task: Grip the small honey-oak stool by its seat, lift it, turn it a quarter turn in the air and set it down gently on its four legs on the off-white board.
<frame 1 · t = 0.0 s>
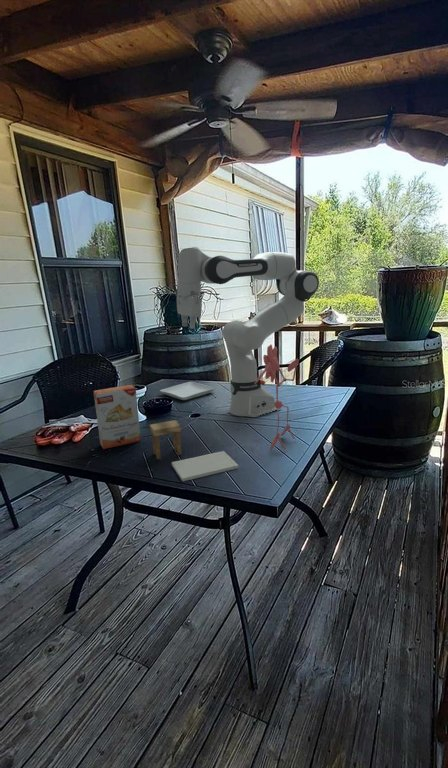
hand: (188, 327, 158), 39 cm above the table, tool pointing down, fingers open, 8 cm apart
oak stool: (167, 454, 137), on the table
salad plate: (187, 395, 208), on the table
white board: (204, 466, 127), on the table
pink stick figure: (272, 443, 142), on the table
cracker box: (121, 443, 149), on the table
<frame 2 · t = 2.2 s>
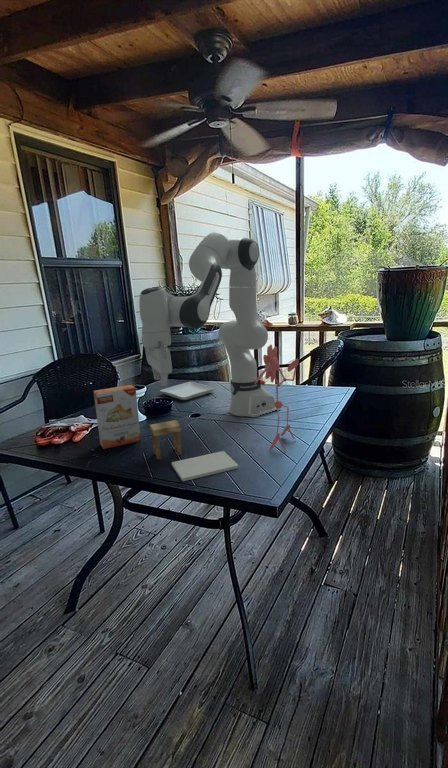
hand: (160, 382, 131), 25 cm above the table, tool pointing down, fingers open, 8 cm apart
nothing on the table moved.
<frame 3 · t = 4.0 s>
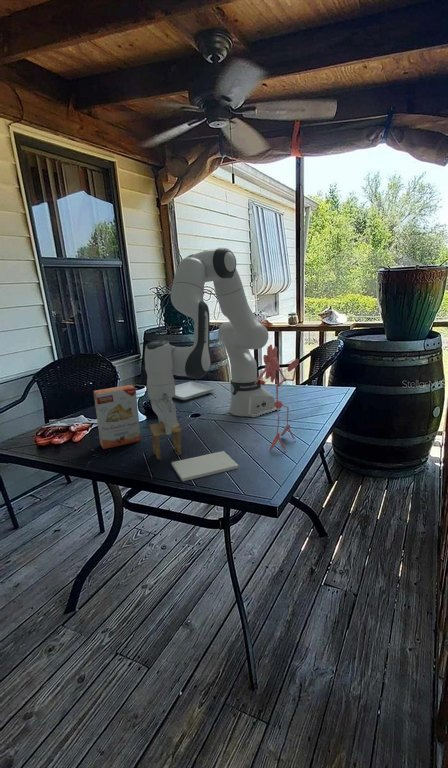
hand: (165, 430, 135), 9 cm above the table, tool pointing down, fingers closed on oak stool, 6 cm apart
oak stool: (167, 454, 137), on the table, touching gripper
everything else where it was.
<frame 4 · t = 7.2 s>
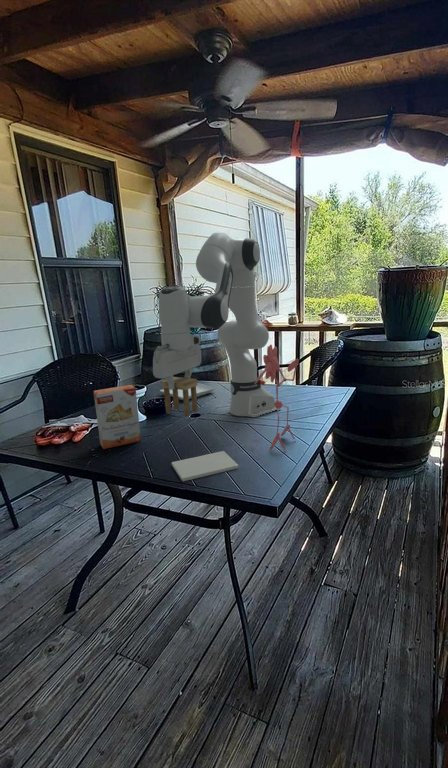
hand: (179, 385, 125), 25 cm above the table, tool pointing down, fingers closed on oak stool, 6 cm apart
oak stool: (181, 412, 127), point 17 cm above the table, touching gripper
everything else where it was.
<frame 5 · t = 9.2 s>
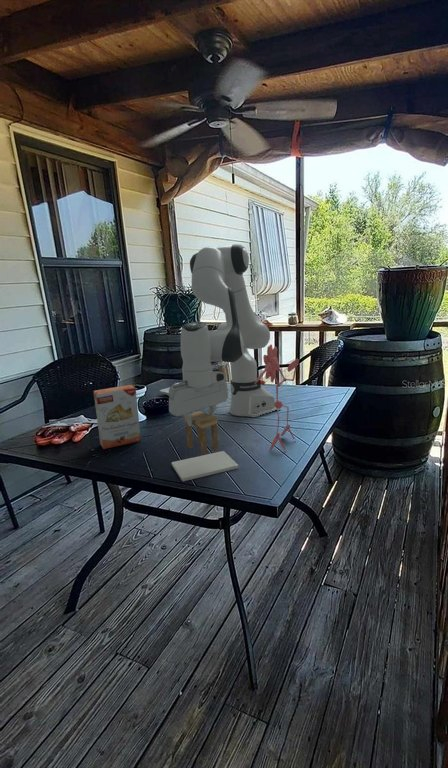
hand: (200, 422, 123), 15 cm above the table, tool pointing down, fingers closed on oak stool, 6 cm apart
oak stool: (202, 448, 125), point 6 cm above the table, touching gripper
everything else where it was.
when the fingers open (11 cm above the table, at t = 10.7 s): oak stool stays where it is, resting on white board.
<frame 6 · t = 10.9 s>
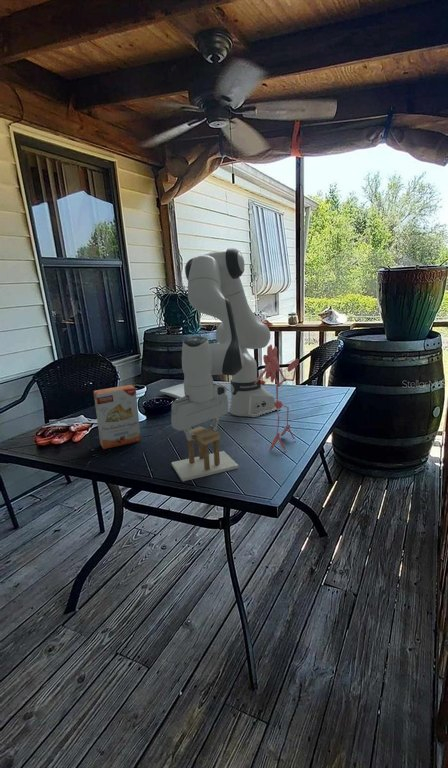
hand: (202, 435, 124), 11 cm above the table, tool pointing down, fingers open, 8 cm apart
oak stool: (204, 463, 127), point 1 cm above the table, touching white board
everything else where it was.
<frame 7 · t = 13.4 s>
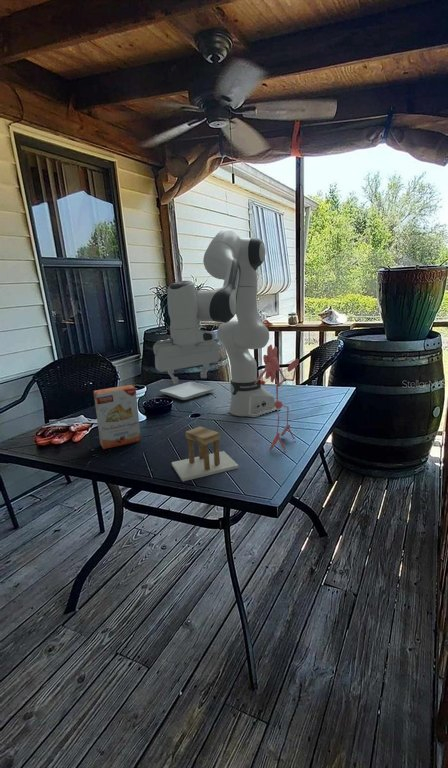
hand: (189, 380, 126), 27 cm above the table, tool pointing down, fingers open, 8 cm apart
nothing on the table moved.
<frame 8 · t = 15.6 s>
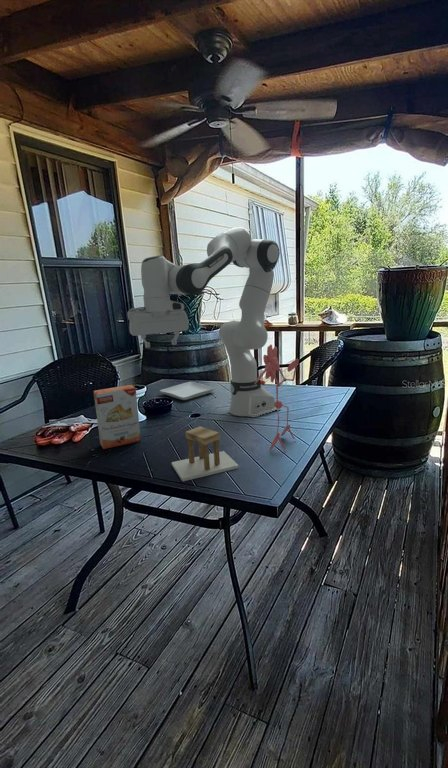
hand: (161, 346, 141), 35 cm above the table, tool pointing down, fingers open, 8 cm apart
nothing on the table moved.
at the end: oak stool inside the target area on the white board (0.1 cm from its centre), point 1.0 cm above the white board's base; oak stool tilted 0°; the gripper is holding nothing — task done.
